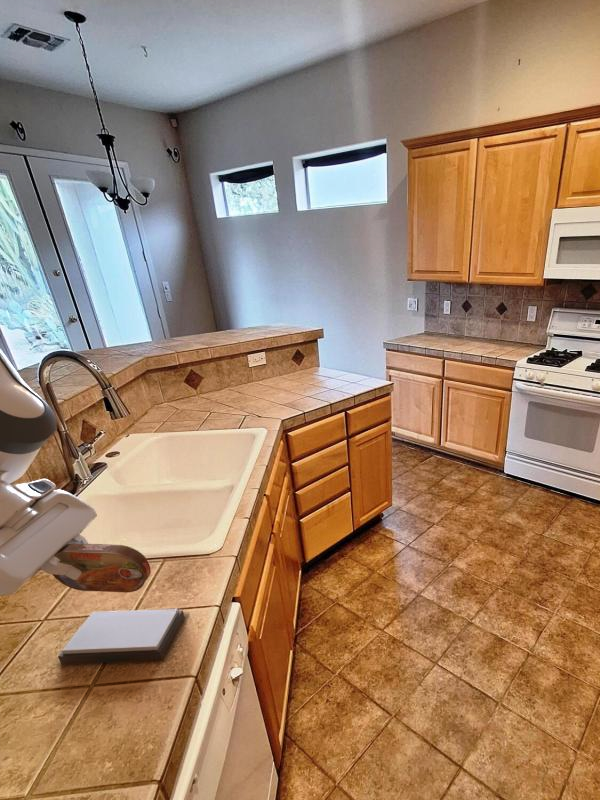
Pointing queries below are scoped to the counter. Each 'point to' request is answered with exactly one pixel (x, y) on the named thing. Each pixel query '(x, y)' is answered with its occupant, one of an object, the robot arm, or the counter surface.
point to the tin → (104, 567)
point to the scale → (123, 636)
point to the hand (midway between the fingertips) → (88, 566)
